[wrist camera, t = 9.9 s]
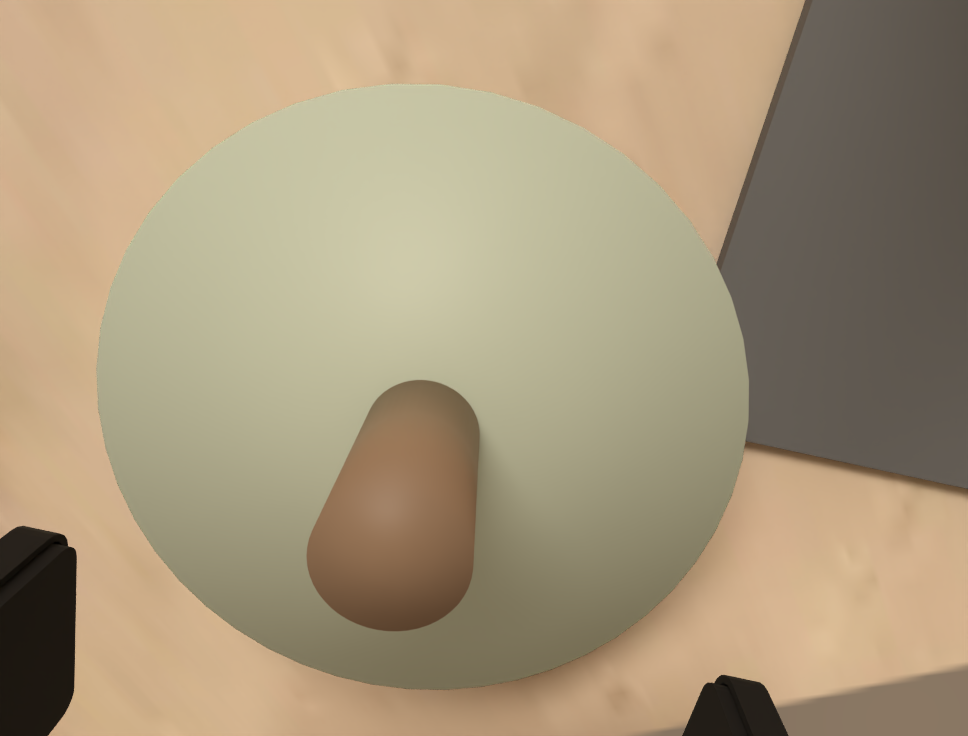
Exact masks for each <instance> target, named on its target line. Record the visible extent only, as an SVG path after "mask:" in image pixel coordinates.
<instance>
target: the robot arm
mask: <svg viewBox="0 0 968 736" xmlns="http://www.w3.org/2000/svg"><path fill="white" fill-rule="evenodd" d="M76 565H77V555H76V551H75V549H74V548H72V547H68V542H67V539H66V537H65V536H64V535H62V534H59V533H54V532H50V531H45V530H40V529H35V528H31V527H26V526H20V527H16V528H15V529H13V530H11V531H10V532H9V533H7V534H6V535H5V536H3V537H2V538H1V539H0V736H48V735H49V733H50V732H51V731H52V730H53V728H54V727H55V726H56V725H57V723H58V722H59V721H60V719H61V718H62V717H63V715H64V714H65V712H66V710H67V708H68V706H69V704H70V702H71V699H72V696H73V693H74V671H75V618H76ZM682 736H788V734H787V732H786V729H785V727H784V725H783V723H782V721H781V719H780V716H779V714H778V712H777V710H776V708H775V706H774V704H773V701H772V699H771V697H770V695H769V693H768V691H767V689H766V688H765V686H764V685H763V684H761V683H760V682H755V681H751V680H746V679H741V678H736V677H732V676H727V675H721V676H719V677H718V678H717V679H716V681H715V683H707V684H705V685H704V687H703V689H702V691H701V693H700V696H699V698H698V700H697V703H696V705H695V707H694V710H693V712H692V714H691V717H690V719H689V721H688V724H687V726H686V728H685V731H684V733H683V735H682Z"/></svg>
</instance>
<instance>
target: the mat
mask: <svg viewBox="0 0 968 736" xmlns="http://www.w3.org/2000/svg"><path fill="white" fill-rule="evenodd" d="M717 267H718V269H719V271H720V273H721V275H722V278H723V280H724V282H725V284H726V287H727V289H728V291H729V293H730V296H731V298H732V301H733V304H734V308H735V311H736V315H737V318H738V322H739V325H740V329H741V332H742V336H743V340H744V347H745V355H746V362H747V369H748V377H749V420H748V427H747V433H746V440H745V441H748V442H753V443H757V444H762V445H767V446H771V447H776V448H780V449H785V450H790V451H794V452H799V453H804V454H808V455H813V456H818V457H822V458H827V459H831V460H836V461H841V462H845V463H850V464H855V465H859V466H864V467H869V468H873V469H878V470H883V471H887V472H892V473H896V474H901V475H906V476H910V477H915V478H920V479H924V480H929V481H934V482H938V483H943V484H948V485H952V486H957V487H961V488H966V489H968V0H806V1H805V4H804V7H803V10H802V13H801V16H800V19H799V22H798V25H797V27H796V30H795V33H794V36H793V39H792V42H791V45H790V48H789V51H788V54H787V57H786V60H785V63H784V66H783V69H782V72H781V75H780V78H779V81H778V84H777V87H776V90H775V93H774V96H773V99H772V102H771V105H770V108H769V110H768V113H767V116H766V119H765V122H764V125H763V128H762V131H761V134H760V137H759V140H758V143H757V146H756V149H755V152H754V155H753V158H752V161H751V164H750V167H749V170H748V173H747V176H746V179H745V182H744V185H743V188H742V191H741V194H740V196H739V199H738V202H737V205H736V208H735V211H734V214H733V217H732V220H731V223H730V226H729V229H728V232H727V235H726V238H725V241H724V244H723V247H722V250H721V253H720V256H719V259H718V262H717Z"/></svg>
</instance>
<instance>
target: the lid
mask: <svg viewBox="0 0 968 736" xmlns="http://www.w3.org/2000/svg"><path fill="white" fill-rule="evenodd" d="M96 370H97V392H98V410H99V415H100V421H101V426H102V432H103V437H104V442H105V447H106V451H107V454H108V457H109V460H110V463H111V466H112V469H113V472H114V475H115V478H116V481H117V484H118V486H119V488H120V490H121V492H122V494H123V497H124V499H125V501H126V503H127V505H128V507H129V509H130V511H131V513H132V515H133V517H134V519H135V521H136V522H137V524H138V526H139V527H140V529H141V530H142V532H143V533H144V535H145V536H146V538H147V540H148V541H149V543H150V544H151V546H152V547H153V549H154V550H155V552H156V553H157V554H158V555H159V557H160V558H161V559H162V560H163V561H164V563H165V564H166V565H167V566H168V568H169V569H170V570H171V571H172V572H173V574H174V575H175V576H176V577H177V578H178V580H179V581H180V582H181V583H182V584H183V585H184V586H186V587H187V588H188V589H189V590H190V591H191V592H192V593H193V594H194V595H195V596H196V597H197V598H198V599H199V600H200V601H201V602H202V603H203V604H204V605H205V606H206V607H208V608H209V609H210V610H212V611H213V612H214V613H216V614H217V615H218V616H219V617H221V618H222V619H223V620H225V621H226V622H227V623H229V624H230V625H231V626H233V627H234V628H235V629H237V630H238V631H240V632H242V633H243V634H245V635H247V636H248V637H250V638H252V639H253V640H255V641H256V642H258V643H260V644H261V645H263V646H265V647H266V648H268V649H270V650H272V651H275V652H277V653H279V654H281V655H283V656H285V657H287V658H290V659H292V660H294V661H296V662H298V663H300V664H303V665H306V666H308V667H311V668H314V669H317V670H320V671H323V672H326V673H329V674H332V675H335V676H338V677H342V678H346V679H351V680H355V681H359V682H364V683H368V684H372V685H380V686H388V687H396V688H404V689H429V690H449V689H461V688H473V687H483V686H488V685H494V684H499V683H504V682H509V681H515V680H519V679H522V678H525V677H529V676H532V675H535V674H538V673H542V672H545V671H548V670H552V669H554V668H556V667H559V666H561V665H563V664H566V663H568V662H570V661H573V660H575V659H577V658H580V657H582V656H584V655H586V654H588V653H590V652H591V651H593V650H595V649H597V648H598V647H600V646H602V645H604V644H605V643H607V642H609V641H611V640H612V639H614V638H616V637H617V636H619V635H620V634H621V633H623V632H624V631H626V630H627V629H628V628H630V627H631V626H632V625H634V624H635V623H636V622H638V621H639V620H640V619H642V618H643V617H644V616H646V615H647V614H648V613H649V612H650V611H651V610H652V609H653V608H654V607H655V606H656V605H657V604H659V603H660V602H661V601H662V600H663V599H664V598H665V597H666V596H667V595H668V594H669V593H670V592H671V591H672V590H673V589H674V588H675V587H676V585H677V584H678V583H679V582H680V581H681V579H682V578H683V577H684V576H685V575H686V573H687V572H688V571H689V570H690V568H691V567H692V566H693V565H694V564H695V562H696V561H697V559H698V558H699V556H700V555H701V553H702V551H703V550H704V548H705V547H706V545H707V544H708V542H709V540H710V539H711V537H712V536H713V534H714V532H715V531H716V529H717V527H718V524H719V522H720V520H721V518H722V516H723V513H724V511H725V509H726V507H727V505H728V502H729V500H730V498H731V496H732V493H733V489H734V486H735V483H736V479H737V476H738V473H739V469H740V466H741V463H742V459H743V453H744V447H745V440H746V433H747V427H748V420H749V377H748V369H747V362H746V355H745V347H744V340H743V336H742V332H741V329H740V325H739V322H738V318H737V315H736V311H735V308H734V304H733V301H732V298H731V296H730V293H729V291H728V289H727V287H726V284H725V282H724V280H723V278H722V275H721V273H720V271H719V269H718V267H717V264H716V262H715V260H714V258H713V256H712V255H711V253H710V252H709V250H708V249H707V247H706V245H705V244H704V242H703V241H702V239H701V238H700V236H699V234H698V233H697V231H696V230H695V228H694V227H693V225H692V223H691V222H690V220H689V219H688V218H687V217H686V216H685V214H684V213H683V212H682V211H681V210H680V209H679V208H678V206H677V205H676V204H675V203H674V202H673V201H672V199H671V198H670V197H669V196H668V195H667V194H666V192H665V191H664V190H663V189H662V188H661V187H660V185H658V184H657V183H656V182H655V181H654V180H653V179H652V178H650V177H649V176H648V175H647V174H646V173H645V172H644V171H642V170H641V169H640V168H639V167H638V166H637V165H636V164H634V163H633V162H632V161H631V160H630V159H629V158H628V157H626V156H625V155H624V154H623V153H621V152H620V151H618V150H617V149H615V148H614V147H612V146H610V145H609V144H607V143H606V142H604V141H603V140H601V139H600V138H598V137H597V136H595V135H594V134H592V133H591V132H589V131H587V130H586V129H584V128H583V127H581V126H578V125H576V124H574V123H572V122H570V121H568V120H566V119H563V118H561V117H559V116H557V115H555V114H553V113H551V112H548V111H546V110H544V109H542V108H540V107H537V106H534V105H531V104H528V103H524V102H521V101H518V100H514V99H511V98H508V97H505V96H501V95H498V94H495V93H491V92H486V91H480V90H473V89H467V88H460V87H454V86H448V85H441V84H386V85H378V86H370V87H363V88H355V89H347V90H341V91H337V92H334V93H330V94H327V95H323V96H320V97H316V98H313V99H309V100H305V101H302V102H298V103H295V104H293V105H290V106H288V107H286V108H284V109H281V110H279V111H277V112H275V113H273V114H270V115H268V116H266V117H264V118H261V119H259V120H257V121H255V122H252V123H251V124H249V125H247V126H246V127H244V128H243V129H241V130H240V131H238V132H237V133H235V134H233V135H232V136H230V137H229V138H227V139H226V140H224V141H222V142H221V143H219V144H218V145H216V146H215V147H213V148H212V149H211V150H209V151H208V152H207V153H206V154H205V155H204V156H203V157H201V158H200V159H199V160H198V161H197V162H196V163H195V164H193V165H192V166H191V167H190V168H189V169H188V170H187V171H185V172H184V173H183V174H182V175H181V176H180V177H179V178H178V179H177V180H176V181H175V182H174V183H173V185H172V186H171V187H170V188H169V189H168V190H167V192H166V193H165V194H164V195H163V196H162V198H161V199H160V200H159V201H158V202H157V204H156V205H155V206H154V207H153V208H152V210H151V211H150V212H149V213H148V215H147V217H146V218H145V220H144V222H143V223H142V225H141V227H140V228H139V230H138V231H137V233H136V235H135V236H134V238H133V240H132V241H131V243H130V245H129V246H128V248H127V250H126V252H125V254H124V257H123V259H122V262H121V264H120V266H119V269H118V271H117V274H116V276H115V278H114V281H113V283H112V286H111V288H110V292H109V296H108V300H107V304H106V308H105V312H104V316H103V320H102V324H101V328H100V337H99V348H98V358H97V368H96Z"/></svg>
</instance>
